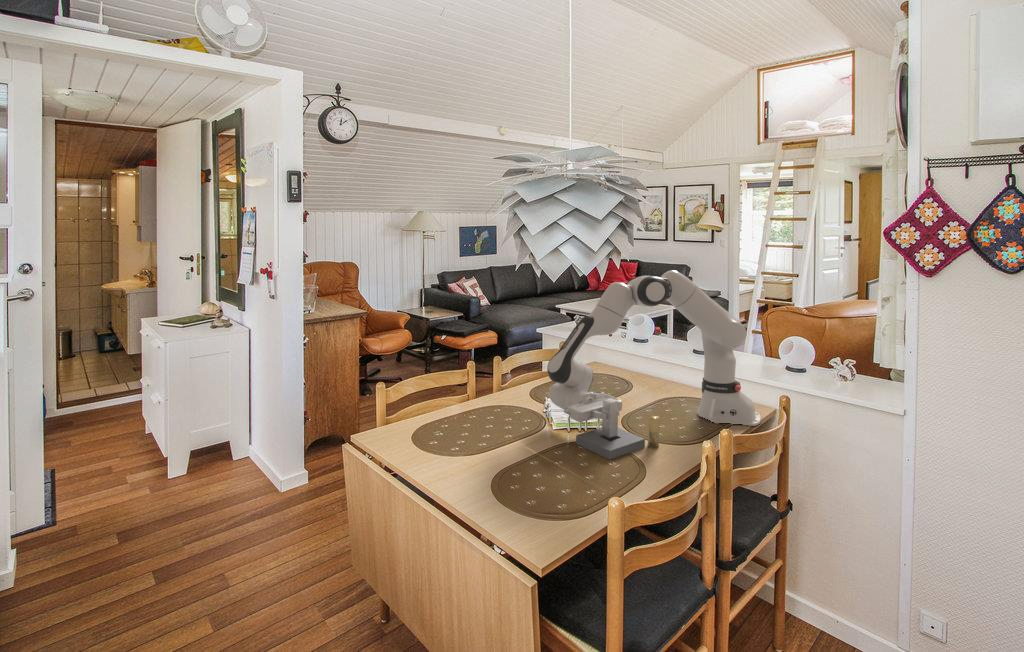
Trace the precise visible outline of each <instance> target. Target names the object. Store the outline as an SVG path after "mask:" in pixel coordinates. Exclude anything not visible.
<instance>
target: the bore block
mask: <svg viewBox="0 0 1024 652" xmlns="http://www.w3.org/2000/svg"><path fill="white" fill-rule="evenodd" d="M575 443H576V445H578V446H580V447H583V448H585V449H586V450H589V451H591V452H593V453H595V454H597V455H599V456H601V457H603V458H605V459H606V460H607V459H608V460H613V459H617V458H618V457H621V455H622V456H624V454H625V455H627V454H630V453H633V452H636V451H638V450H642V449H643V448H646V447H645V446H646V438H644V437H641V436H639V435H636V434H634V433H632V432H630V431H627V430H624V429H623V428H620V427H618V430H617V435H616V436H613V437H610V438H609V437H607V436H605V435H602V426H601V427H598V428H595V429H593V430H592V429H591V430H589V431H586V432H582V433H579V434H576V435H575Z"/></svg>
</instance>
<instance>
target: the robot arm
mask: <svg viewBox="0 0 1024 652" xmlns="http://www.w3.org/2000/svg"><path fill="white" fill-rule="evenodd" d="M665 301H667V302H668V303H669V304H671V306H673V307H674V308H675V309H676V310H677V311H678V312H679V313H680V314H681V315H682V316H684V317H685V319H687V320H689V322H691V324H693V325H694V326H696V327H697V328H698V329H699V330H700V331H701V340H702V348H703V359H704V362H703V363H704V366H703V377H702V381H701V393H702V394H701V399H700V403H699V407H698V410H697V413H696V414H697V415H698V416H699V417H701V418H702V417H703V419H704V418H705V420H707V419H708V420H707V421H709V420H710V421H711V422H710V421H709V422H710V423H712V422H714V423H713V424H719V423H733V424H743V425H742V426H747V425H748V427H749V426H750V427H751V426H752V427H756V426H759V424H761V421H762V416H761V414H760V413H759V412H757V411H756V408H755V404H754V402H753V400H752V399H751V398H750V397H748V395H746V394H745V393H743V392H742V391H741V388H742V387H741V382H740V381H737V380H736V365H737V360H736V359H737V358H736V357H735V354H734V349H736V348H739V347H740V346H742V345H743V344H744V343H745V341H746V339H747V334H748V333H747V329H746V328H745V326H744V324H742V322H740V321H739V320H738V319H737V318H736V317H735V316H734V315H732V314H731V313H730V312H729V311H727V309H726V308H724V307H722V306H721V305H720V304H719V303H718V302H716V301H715V300H714V299H712V298H711V297H710V296H709V295H708V294H707V293H706V292H704V291H703V290H702V288H700V287H699V286H698V285H697V284H696V283H695V282H693V281H692V280H691V279H690V278H689V277H687V276H686V275H684V274H683V273H681V272H679V271H677V270H674V269H673V270H672V269H671V270H667V271H666V272H664V273H663V274H661V276H656V275H655V276H654V275H641V276H639V275H638V276H635V277H633V278H631V279H629V280H628V281H627V282H626V283H624V282H620V281H614V282H612V283H610V284H609V285H608V286H607V288H606V289H605V290H604V292H603V293H602V295H601V297H600V298H599V300H598V301H597V303H596V306H595V307H594V309H593V310H592V311H591V312H590V313H589V314H588V315H587V316H584V317H582V318H581V319H580V320H579V322H577V324H576V325H575V326H574V328H573V329H572V330H571V332H570V334H569V335H568V336H567V338H566V339H565V341H564V342H563V344H562V345H561V346H560V348H559V349H558V351H557V352H556V353H555V354H554V355H553V356H552V357H551V359H550V360H549V361H548V363H547V368H546V370H547V371H546V372H547V375H548V377H549V379H550V380H551V381H552V382H554V384H552V385H551V386H550V388H549V391H548V396H549V400H550V401H551V402H552V404H554V405H555V406H556V407H558V408H560V409H562V410H563V413H564V414H566V415H568V417H569V418H570V419H572V420H574V421H575V422H579V423H582V422H586V421H590V420H593V419H598V420H599V419H601V420H602V419H603V420H605V419H608V414H606V413H602V408H603V400H605V399H608V398H612V399H615V400H618V417H619V416H620V412H621V411H622V410H623V401H622V400H621V398H617V397H616V396H612V395H609V394H605V392H604V391H589V390H590V388H591V386H592V384H593V383H594V382H593V381H594V372H593V369H592V368H591V366H589V365H588V364H587V365H586V364H585V363H583V362H581V361H578V360H576V359H574V358H575V356H576V355H577V353H578V352H579V350H580V349H581V348H582V346H583V345H584V343H585V342H586V341H587V339H590V338H591V337H594V336H608V335H612V334H614V333H616V332H617V331H618V330H619V329H620V327H621V326H622V324H623V322H624V319H625V318H626V316H627V313H628V311H629V310H630V309H631V308H632V307H633V306H634V305H636V306H640V307H656V306H659V305H661V304H662V303H663V302H665ZM718 422H719V423H718ZM733 424H732V425H733Z"/></svg>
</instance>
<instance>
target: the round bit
mask: <svg viewBox="0 0 1024 652" xmlns="http://www.w3.org/2000/svg"><path fill="white" fill-rule="evenodd" d="M660 424H661V417H660V416H658V415H649V416H648V427H647V428H648V429H647V431H648V432H647V447H648V448H650V449H658V448H659V446H660Z"/></svg>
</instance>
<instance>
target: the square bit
mask: <svg viewBox="0 0 1024 652" xmlns="http://www.w3.org/2000/svg"><path fill="white" fill-rule="evenodd" d="M602 413H606V414H608V419H605V420H603V419H601V427H602V435H605V436H607V437H609V438H610V437H613V436H616V435H617V430H618V428H619V427H618V425H619V423H618V422H619V416H618V400H615V399H612V398H608V399H605V400H603V408H602Z"/></svg>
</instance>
